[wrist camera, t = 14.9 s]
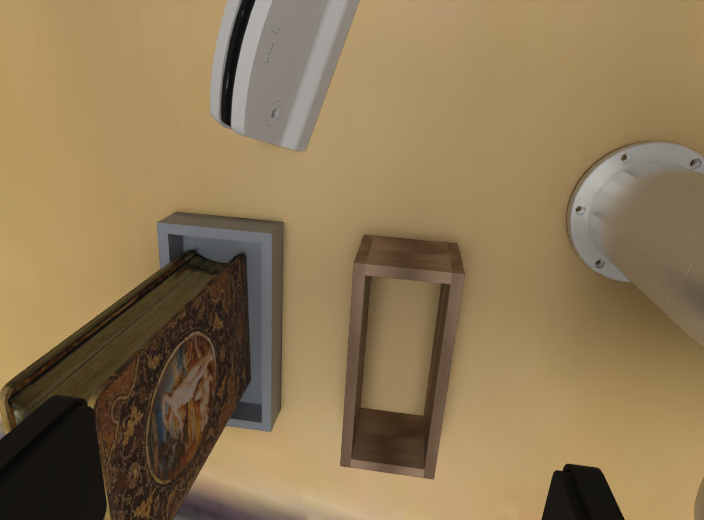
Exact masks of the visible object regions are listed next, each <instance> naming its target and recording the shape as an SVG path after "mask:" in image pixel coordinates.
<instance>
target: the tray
mask: <svg viewBox="0 0 704 520" xmlns="http://www.w3.org/2000/svg"><path fill="white" fill-rule="evenodd" d="M157 231H158V244H159V257H160V269H161V268H163V267H164V266H165V265H167V264H168V263H170V262H171V261H172V260H174V259H175V258H176V257H178V256H179V255H180V254H182V253H183V252H185V251H187V250H195V251H196V252H197V254H199V255H201V256H202V257H204V258H206V259H209V260H211V261H215V262H219V263H228V262H229V261H230V260H231V259H232V258H233V257H234V256H236V255H237V254H239V253H242V254H245V255H246V266H247V283H248V308H249V333H250V359H251V381H250V383H249V385H248V387H247V388H246V390H245V392H244V394H243V396H242V397H241V399H240V401H239V403H238V405H237V406H236V408H235V410H234V412H233V413H232V415H231V417H230V419H229V421H228V422H227V424H226V426H231V427H238V428H246V429H253V430H260V431H268V432H271V431H272V428H273V426H274V424H275V421H276V419H277V416H278V414H279V412H280V409H281V355H282V285H283V222H276V221H266V220H255V219H245V218H234V217H224V216H213V215H203V214H192V213H182V212H175V213H174V214H172V215H170V216H168V217H166V218H164V219H162V220H161V221H159V222H157Z"/></svg>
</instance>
